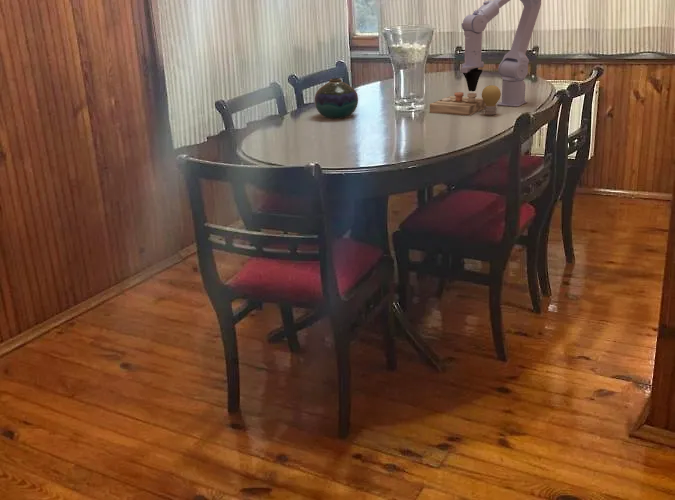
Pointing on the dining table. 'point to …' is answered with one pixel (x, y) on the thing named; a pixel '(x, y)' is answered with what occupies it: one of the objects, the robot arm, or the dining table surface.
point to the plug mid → (458, 96)
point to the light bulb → (491, 98)
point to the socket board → (457, 106)
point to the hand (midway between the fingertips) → (472, 90)
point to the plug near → (471, 97)
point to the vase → (336, 99)
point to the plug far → (446, 99)
